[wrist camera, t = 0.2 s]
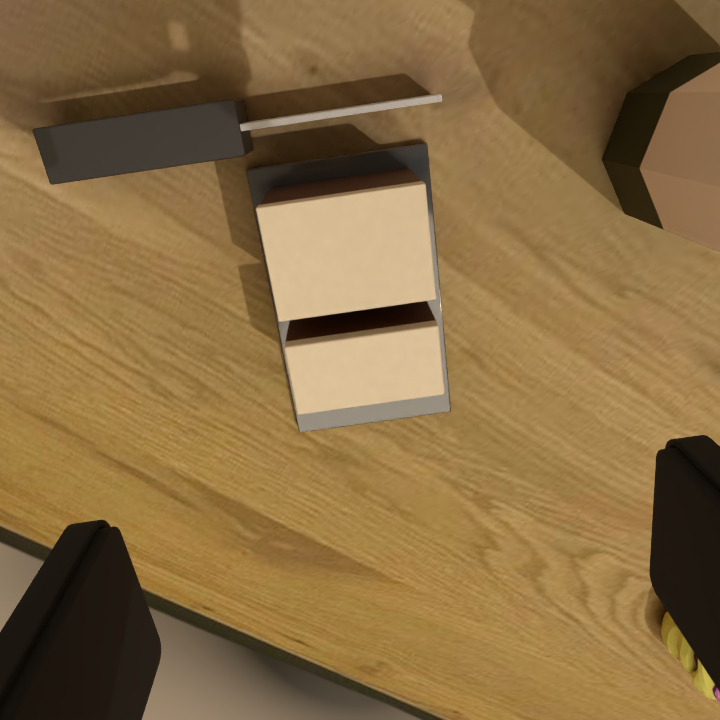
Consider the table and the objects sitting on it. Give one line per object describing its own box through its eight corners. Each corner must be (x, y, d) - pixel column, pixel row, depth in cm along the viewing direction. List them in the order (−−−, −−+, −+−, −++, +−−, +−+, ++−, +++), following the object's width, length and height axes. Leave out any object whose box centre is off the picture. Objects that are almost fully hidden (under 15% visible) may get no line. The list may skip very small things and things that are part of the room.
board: (247, 168, 31) (245, 170, 30) (425, 142, 31) (427, 143, 30) (299, 428, 37) (299, 432, 36) (449, 407, 36) (451, 411, 36)
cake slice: (292, 305, 33) (283, 347, 27) (421, 286, 33) (438, 325, 27) (303, 364, 34) (297, 415, 29) (427, 346, 34) (445, 395, 29)
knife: (75, 177, 31) (49, 185, 28) (59, 126, 30) (31, 129, 27) (434, 123, 30) (444, 126, 27) (429, 70, 29) (439, 67, 26)
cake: (269, 188, 31) (255, 208, 25) (409, 167, 30) (425, 183, 25) (288, 284, 32) (278, 322, 27) (419, 265, 32) (436, 299, 27)
